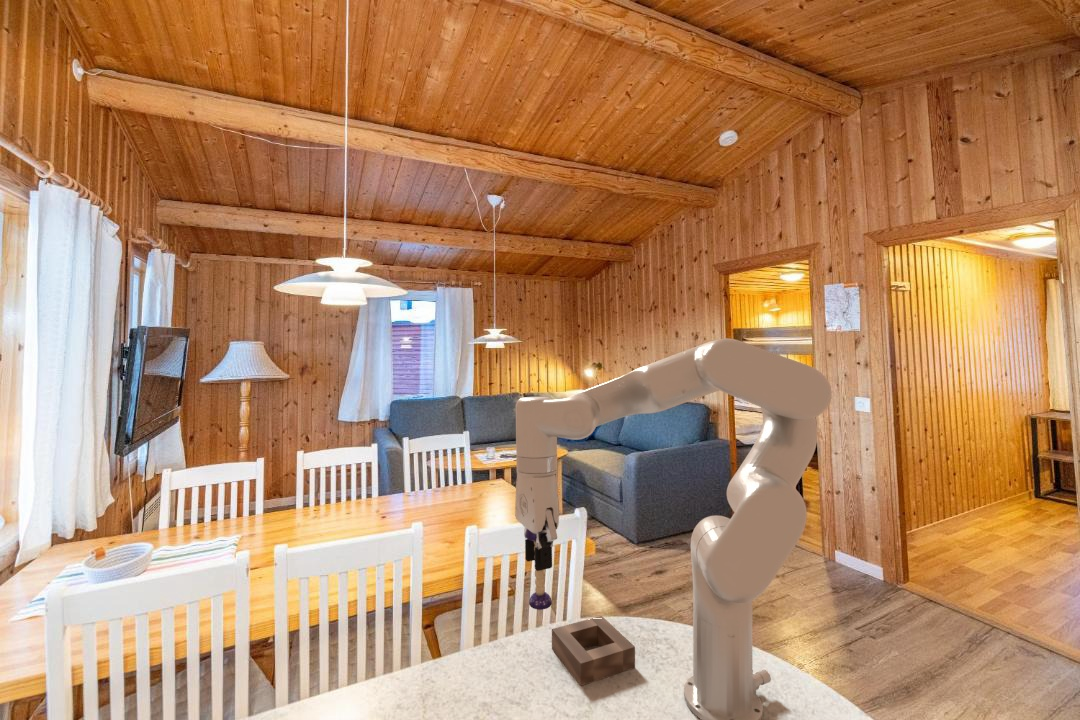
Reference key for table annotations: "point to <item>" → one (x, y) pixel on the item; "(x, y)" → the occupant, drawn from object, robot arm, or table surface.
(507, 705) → the table surface
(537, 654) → the table surface
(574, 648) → the socket block
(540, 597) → the toy lamp
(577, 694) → the table surface
